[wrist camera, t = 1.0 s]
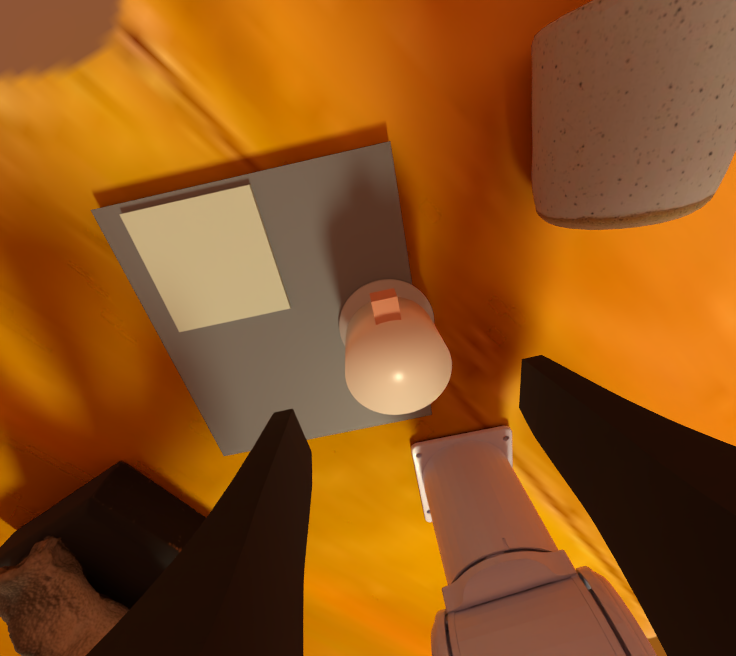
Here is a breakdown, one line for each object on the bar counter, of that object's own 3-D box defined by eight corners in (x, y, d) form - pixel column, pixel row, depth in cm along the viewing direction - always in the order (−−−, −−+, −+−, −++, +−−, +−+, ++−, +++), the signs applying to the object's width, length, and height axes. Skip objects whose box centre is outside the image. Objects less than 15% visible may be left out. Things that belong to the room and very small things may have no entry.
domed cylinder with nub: (438, 366, 20) (456, 403, 17) (356, 383, 20) (357, 423, 17) (426, 268, 18) (444, 289, 14) (331, 288, 18) (327, 314, 14)
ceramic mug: (508, 223, 20) (600, 249, 13) (500, 54, 16) (622, -39, 9) (686, 178, 19) (882, 180, 12) (717, -4, 16) (1015, -145, 9)
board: (442, 405, 25) (453, 431, 23) (227, 448, 26) (214, 478, 23) (407, 138, 17) (417, 132, 15) (101, 208, 18) (60, 214, 15)
